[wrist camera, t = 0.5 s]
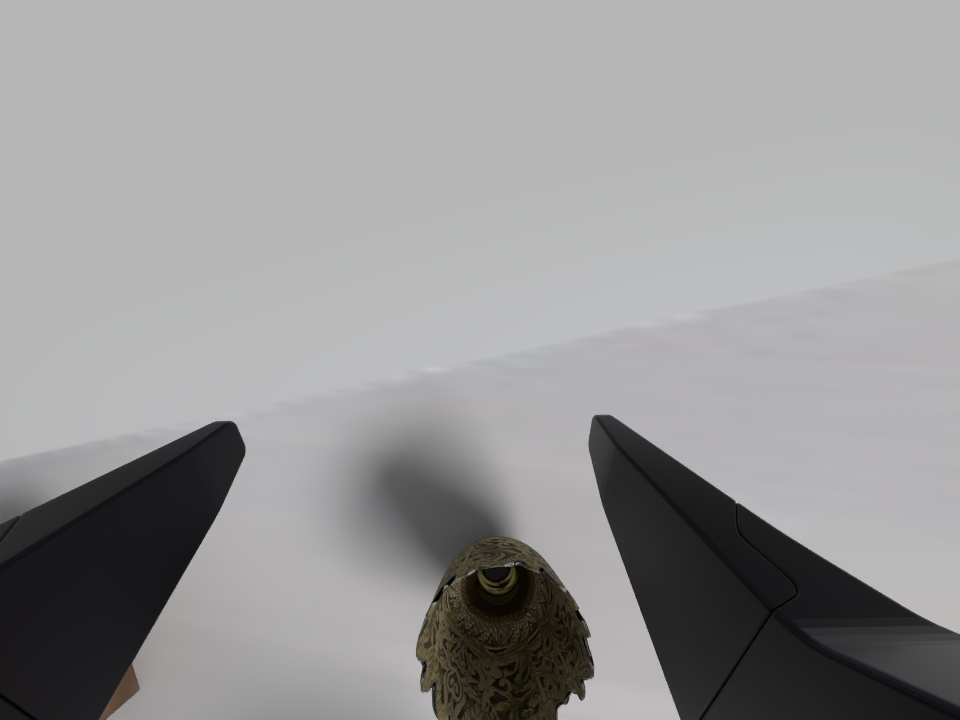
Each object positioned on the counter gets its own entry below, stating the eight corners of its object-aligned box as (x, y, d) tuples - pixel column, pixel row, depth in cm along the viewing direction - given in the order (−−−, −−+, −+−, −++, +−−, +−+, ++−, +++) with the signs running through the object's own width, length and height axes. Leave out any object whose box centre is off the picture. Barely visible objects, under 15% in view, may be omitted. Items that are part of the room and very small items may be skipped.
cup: (494, 655, 23) (503, 798, 15) (413, 567, 23) (379, 658, 15) (578, 568, 23) (631, 660, 15) (497, 483, 24) (507, 528, 16)
